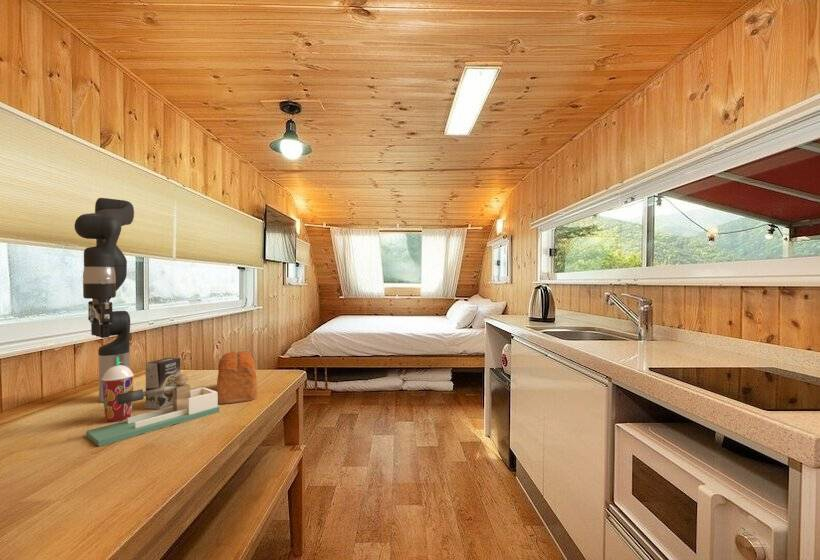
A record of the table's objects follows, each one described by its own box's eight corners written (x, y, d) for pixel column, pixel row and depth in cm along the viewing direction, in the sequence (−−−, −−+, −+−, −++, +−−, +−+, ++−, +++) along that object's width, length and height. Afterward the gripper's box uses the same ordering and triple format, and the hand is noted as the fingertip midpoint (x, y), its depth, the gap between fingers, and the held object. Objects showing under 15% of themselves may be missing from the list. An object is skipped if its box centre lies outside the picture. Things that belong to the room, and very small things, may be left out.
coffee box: (160, 409, 128) (159, 363, 128) (145, 408, 129) (144, 362, 129) (181, 401, 137) (181, 357, 137) (167, 400, 138) (166, 357, 138)
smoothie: (141, 415, 123) (140, 355, 123) (113, 424, 115) (112, 360, 115) (123, 412, 125) (122, 353, 125) (95, 421, 118) (94, 359, 117)
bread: (254, 382, 161) (253, 347, 161) (258, 400, 137) (257, 359, 137) (218, 387, 155) (217, 351, 155) (216, 406, 131) (215, 363, 131)
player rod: (116, 425, 109) (115, 385, 109) (186, 407, 124) (185, 372, 124) (120, 428, 107) (119, 387, 107) (190, 409, 122) (190, 373, 122)
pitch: (86, 436, 107) (86, 413, 107) (202, 404, 132) (202, 386, 132) (98, 446, 100) (98, 422, 100) (219, 411, 125) (219, 392, 125)
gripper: (77, 282, 112) (77, 336, 112) (90, 282, 104) (91, 340, 104) (107, 282, 118) (108, 332, 118) (122, 281, 110) (123, 336, 110)
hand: (100, 336), depth 111 cm, fingers open, 8 cm apart
